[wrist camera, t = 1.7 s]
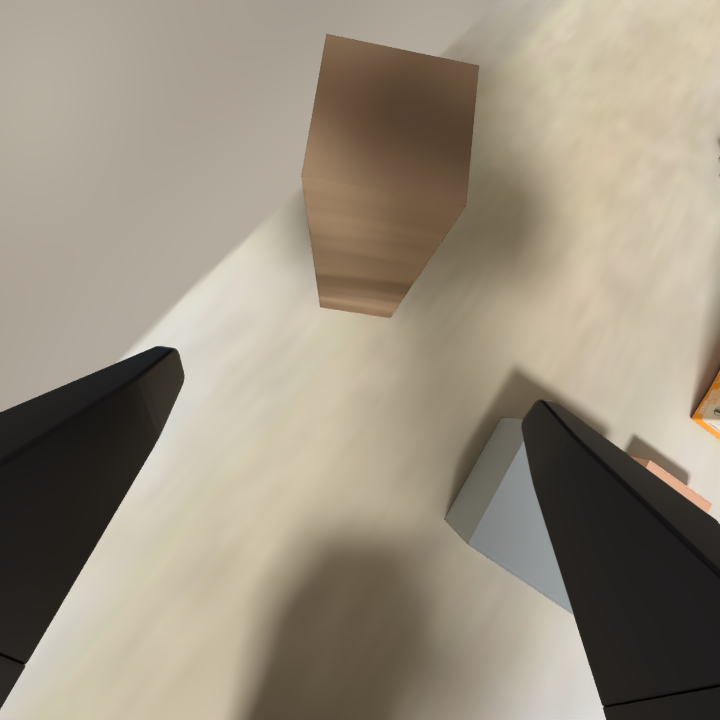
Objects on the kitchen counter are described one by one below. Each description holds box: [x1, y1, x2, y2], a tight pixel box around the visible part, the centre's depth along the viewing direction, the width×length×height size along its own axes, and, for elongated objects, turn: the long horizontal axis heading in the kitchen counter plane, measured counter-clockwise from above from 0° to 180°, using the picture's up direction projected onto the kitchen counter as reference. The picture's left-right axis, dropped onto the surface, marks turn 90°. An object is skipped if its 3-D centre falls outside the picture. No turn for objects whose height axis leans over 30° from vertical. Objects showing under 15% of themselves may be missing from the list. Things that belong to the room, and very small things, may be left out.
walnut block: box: [302, 34, 479, 318], centre depth 16 cm, size 5×5×13 cm
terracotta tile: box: [630, 456, 712, 513], centre depth 22 cm, size 5×5×2 cm
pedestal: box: [444, 417, 574, 615], centre depth 20 cm, size 8×8×4 cm
